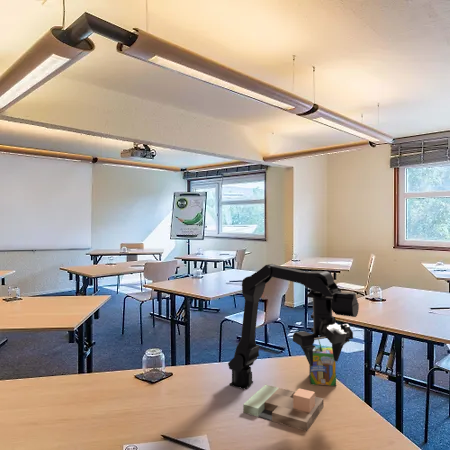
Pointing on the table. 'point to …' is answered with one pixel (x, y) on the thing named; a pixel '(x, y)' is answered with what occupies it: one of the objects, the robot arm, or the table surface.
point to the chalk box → (323, 366)
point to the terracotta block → (304, 400)
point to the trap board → (281, 407)
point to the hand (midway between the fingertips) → (323, 363)
